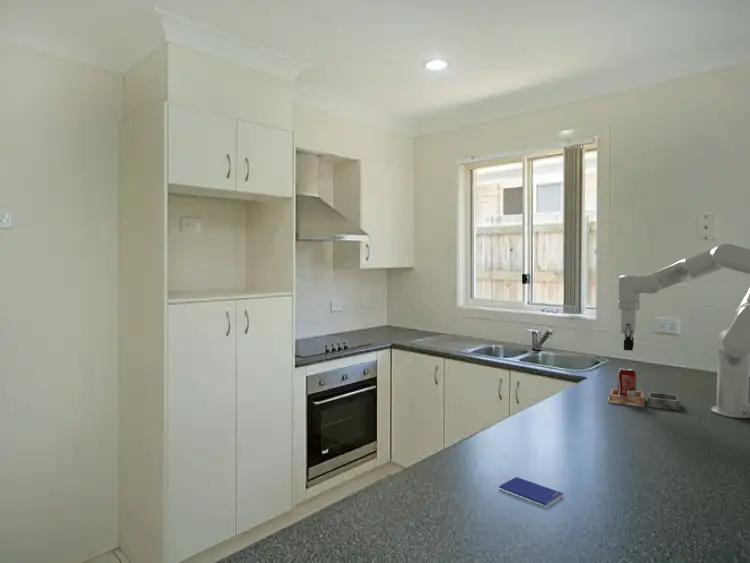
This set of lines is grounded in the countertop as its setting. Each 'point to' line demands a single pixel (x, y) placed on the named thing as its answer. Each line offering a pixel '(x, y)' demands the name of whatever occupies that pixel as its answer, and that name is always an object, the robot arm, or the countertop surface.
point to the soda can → (626, 382)
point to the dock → (653, 400)
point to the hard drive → (531, 491)
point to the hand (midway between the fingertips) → (628, 348)
